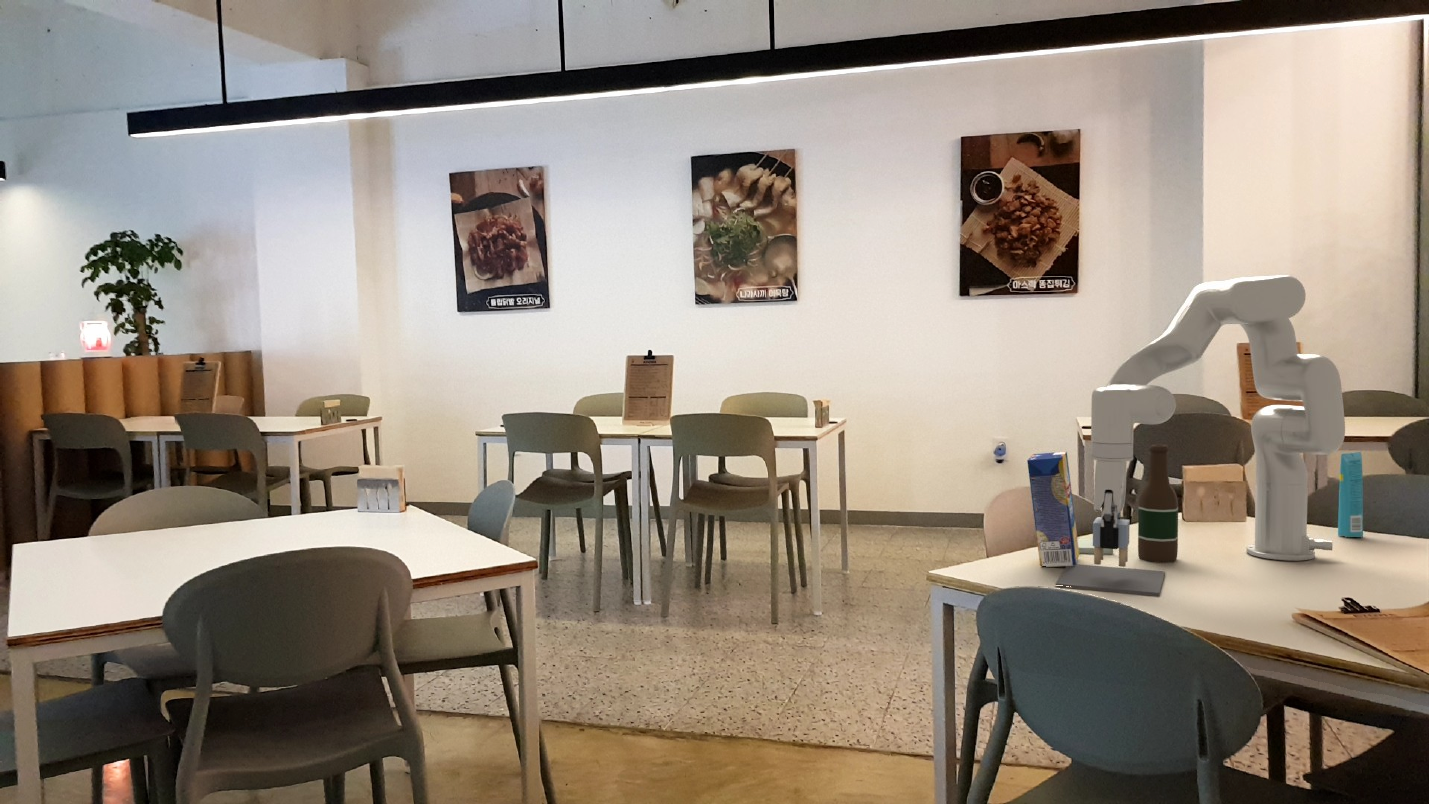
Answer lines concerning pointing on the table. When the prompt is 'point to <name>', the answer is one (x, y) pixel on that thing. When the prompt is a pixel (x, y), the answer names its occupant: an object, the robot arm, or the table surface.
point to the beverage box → (1053, 509)
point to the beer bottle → (1158, 512)
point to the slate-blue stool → (1122, 541)
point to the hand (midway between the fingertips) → (1110, 544)
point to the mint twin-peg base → (1090, 546)
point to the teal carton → (1351, 496)
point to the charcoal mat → (1112, 579)
